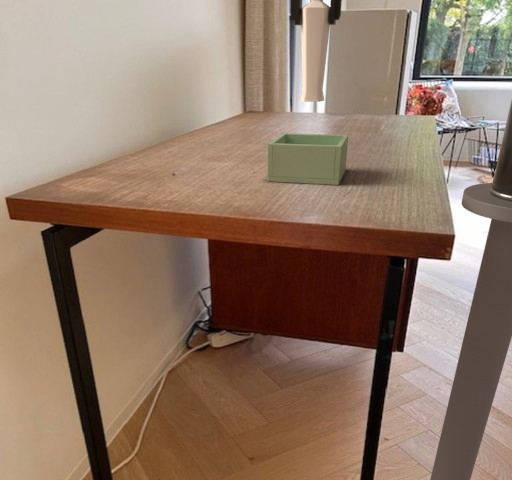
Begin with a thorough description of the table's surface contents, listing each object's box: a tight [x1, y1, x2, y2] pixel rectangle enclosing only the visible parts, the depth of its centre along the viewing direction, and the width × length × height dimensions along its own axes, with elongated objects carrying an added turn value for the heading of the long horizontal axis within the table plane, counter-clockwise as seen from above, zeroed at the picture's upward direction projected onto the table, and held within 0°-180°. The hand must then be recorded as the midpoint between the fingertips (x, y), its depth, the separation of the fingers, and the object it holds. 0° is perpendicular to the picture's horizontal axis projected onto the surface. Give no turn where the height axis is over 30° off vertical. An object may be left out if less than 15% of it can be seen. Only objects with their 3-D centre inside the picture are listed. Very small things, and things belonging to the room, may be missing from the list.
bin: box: [266, 132, 349, 186], centre depth 84 cm, size 12×12×6 cm
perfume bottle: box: [299, 0, 331, 103], centre depth 76 cm, size 5×4×15 cm
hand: (315, 24), depth 74 cm, fingers closed on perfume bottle, 4 cm apart
